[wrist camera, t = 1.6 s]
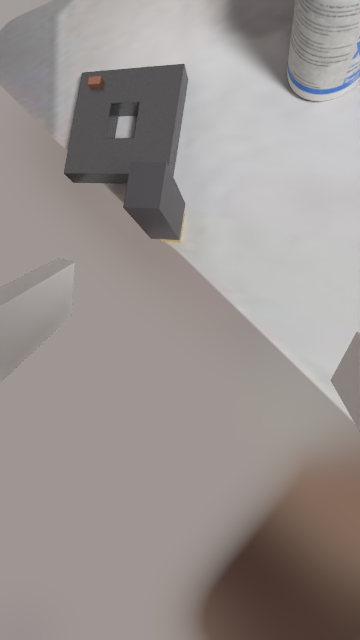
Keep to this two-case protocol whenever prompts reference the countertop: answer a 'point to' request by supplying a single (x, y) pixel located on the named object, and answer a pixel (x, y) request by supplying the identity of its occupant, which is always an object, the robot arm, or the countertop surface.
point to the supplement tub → (324, 48)
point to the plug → (155, 200)
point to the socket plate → (125, 100)
